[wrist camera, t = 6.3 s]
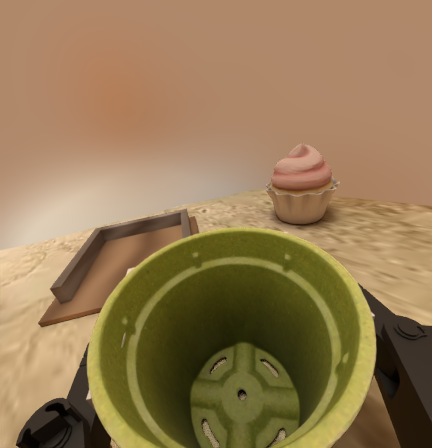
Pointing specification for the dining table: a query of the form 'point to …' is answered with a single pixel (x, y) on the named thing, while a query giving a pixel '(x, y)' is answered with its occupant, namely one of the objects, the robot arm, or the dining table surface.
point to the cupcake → (301, 186)
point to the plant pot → (232, 345)
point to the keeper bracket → (112, 262)
